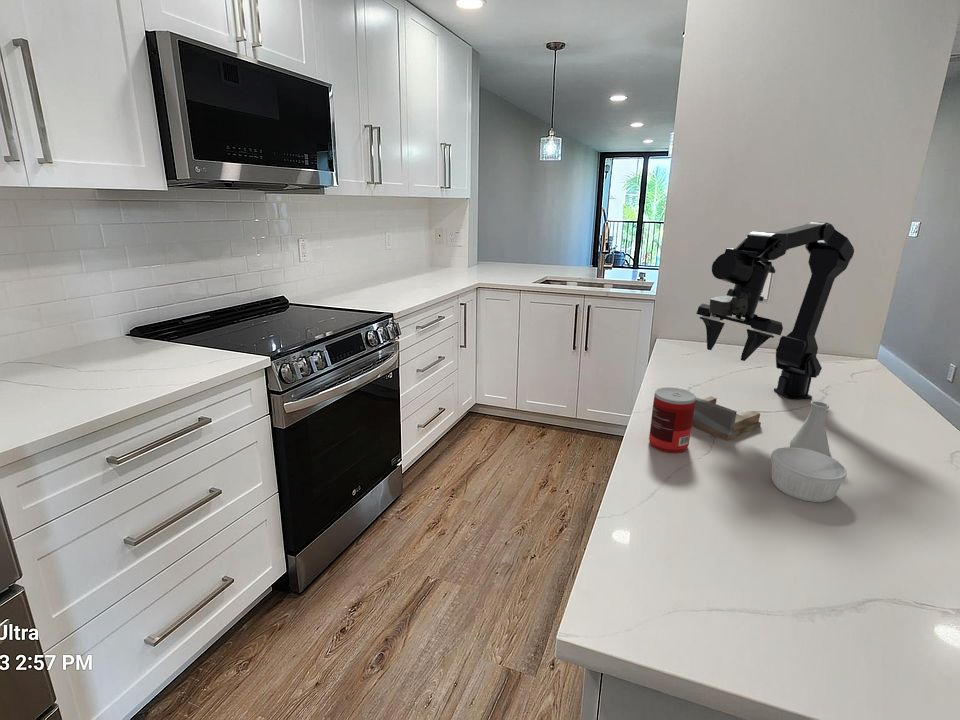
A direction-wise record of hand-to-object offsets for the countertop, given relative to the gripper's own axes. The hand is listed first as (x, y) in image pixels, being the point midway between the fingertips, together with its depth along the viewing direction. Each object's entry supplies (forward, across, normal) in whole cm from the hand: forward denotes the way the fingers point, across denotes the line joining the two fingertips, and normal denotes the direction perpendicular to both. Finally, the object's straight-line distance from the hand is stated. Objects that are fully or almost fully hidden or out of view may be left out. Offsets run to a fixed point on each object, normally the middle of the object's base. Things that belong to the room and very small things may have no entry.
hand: (725, 355), depth 122 cm
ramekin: (+17, +32, -11) cm, 38 cm away
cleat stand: (+15, +5, -2) cm, 16 cm away
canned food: (+20, +9, -20) cm, 29 cm away
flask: (+13, +22, +4) cm, 26 cm away
